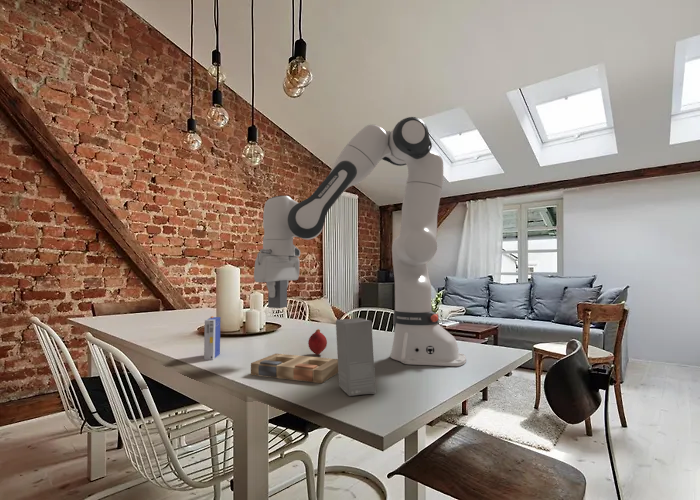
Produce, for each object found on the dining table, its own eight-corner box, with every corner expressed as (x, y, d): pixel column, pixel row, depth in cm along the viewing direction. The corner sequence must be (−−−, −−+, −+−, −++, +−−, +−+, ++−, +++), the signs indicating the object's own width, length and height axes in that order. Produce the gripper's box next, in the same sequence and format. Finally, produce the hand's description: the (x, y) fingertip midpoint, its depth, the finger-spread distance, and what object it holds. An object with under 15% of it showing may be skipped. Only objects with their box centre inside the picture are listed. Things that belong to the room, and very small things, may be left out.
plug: (287, 306, 117) (287, 278, 118) (280, 308, 114) (280, 278, 114) (275, 306, 119) (275, 278, 119) (268, 307, 115) (268, 278, 115)
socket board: (340, 370, 104) (340, 357, 104) (321, 383, 93) (321, 369, 93) (275, 364, 111) (275, 352, 111) (250, 375, 100) (250, 361, 100)
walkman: (211, 354, 124) (211, 316, 124) (219, 354, 124) (220, 315, 124) (203, 360, 116) (204, 319, 116) (212, 359, 116) (213, 319, 117)
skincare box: (376, 394, 85) (376, 320, 85) (344, 397, 83) (344, 322, 83) (363, 383, 93) (363, 316, 93) (334, 386, 91) (334, 317, 91)
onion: (319, 357, 119) (319, 331, 119) (304, 355, 122) (304, 329, 122) (330, 354, 124) (330, 328, 124) (315, 352, 127) (315, 327, 127)
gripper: (268, 248, 106) (267, 299, 105) (303, 251, 125) (303, 294, 125) (248, 249, 108) (248, 299, 108) (285, 251, 127) (285, 294, 127)
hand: (277, 296), depth 116 cm, fingers closed on plug, 4 cm apart
